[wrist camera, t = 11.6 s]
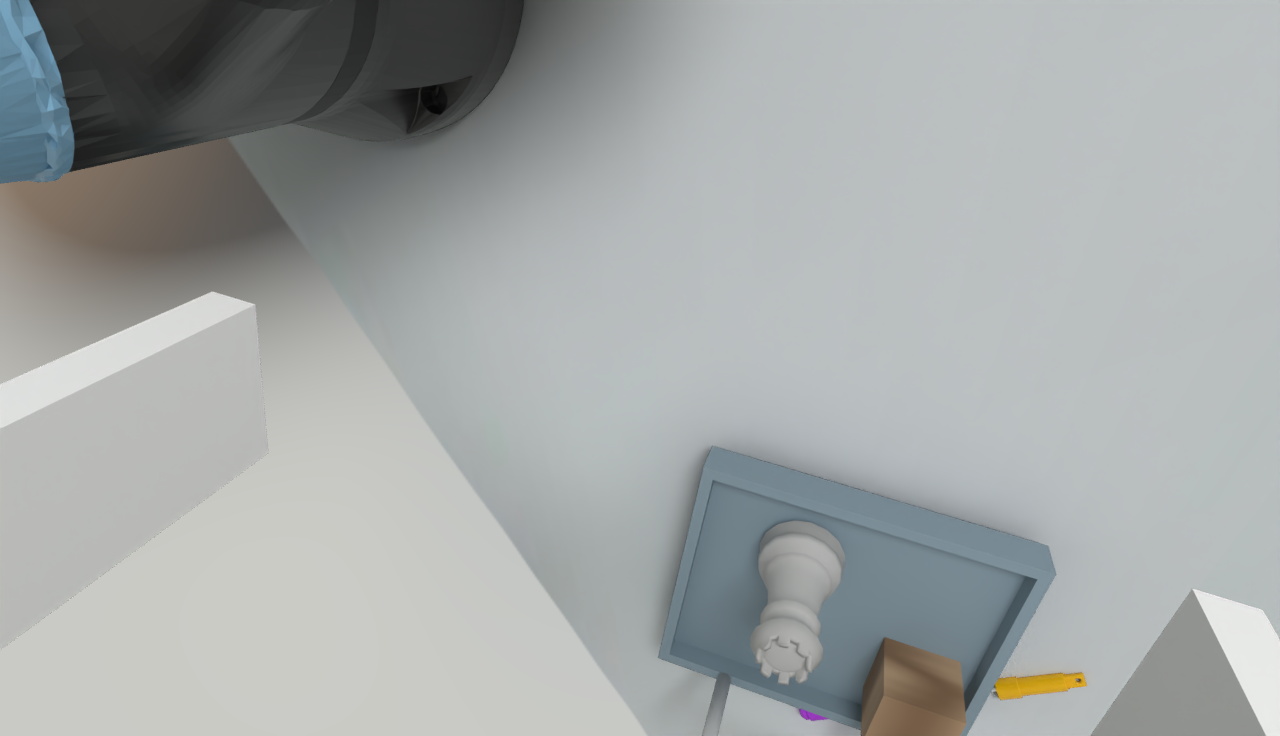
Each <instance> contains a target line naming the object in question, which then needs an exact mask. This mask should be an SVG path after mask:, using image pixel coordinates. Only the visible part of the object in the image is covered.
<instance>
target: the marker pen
mask: <svg viewBox="0 0 1280 736" xmlns="http://www.w3.org/2000/svg"><path fill="white" fill-rule="evenodd" d="M1077 678H1079V679H1081V681H1076V680H1075V679H1077ZM1084 686H1087V684H1086V681H1085V678H1084V675H1083V673H1074V674H1063V673H1055V674H1047V675H1038V676H1029V677H1020V678H1016V677H1008V678H999V679H998V680H997V682H996V683H995V687H993V689H992V691H991V692H996V691H997V694H998V697H999V699H1000V700H1008V699H1017V698H1022V697H1023V696H1028V695H1037V694H1046V693H1056V692H1065V691H1068V689H1070V688H1074V687H1084ZM800 714H801V716H802V717H803V718H805V719H806V720H809V719H810V720H811V721H815V720H824V719H828V718H825V717H822V716H820V715H817V714H814V713H811V712H808V711H806V710H803V709H800Z"/></svg>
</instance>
